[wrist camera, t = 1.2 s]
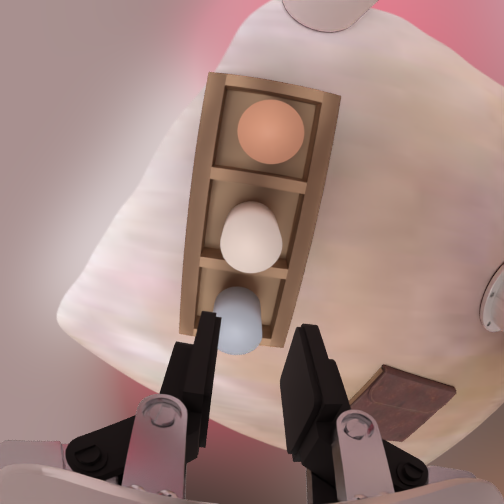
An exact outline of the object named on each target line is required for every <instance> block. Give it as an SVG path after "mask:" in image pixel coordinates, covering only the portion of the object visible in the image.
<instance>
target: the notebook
mask: <svg viewBox="0 0 504 504" xmlns="http://www.w3.org/2000/svg"><path fill="white" fill-rule="evenodd" d="M382 367H383V368H380V369H379V370H378V371H377V372H376V373H375V375H374V376H373V377H372V378H371V379H370V380H369V381H368V382H367V383H366V384H365V385H364V386H363V387H362V388H361V389H360V391H359V392H358V393H357V394H356V395H355V396H354V397H353V398H352V399H351V400H350V401H349V404H350V407H351V410H360V411H363V412H366V413H367V414H369V415H370V416H372V417H373V418H374V420H375V421H376V423H377V425H378V428H379V431H380V435H381V438H382V439H384V440H388V441H399V442H403V441H404V440H405V439H406V438H408V437H409V436H410V435H411V434H412V433H413V432H415V431H416V430H417V429H418V428H419V427H420V426H421V425H423V424H424V423H425V422H426V421H427V420H428V419H429V418H430V417H431V416H432V415H433V414H435V413H436V412H437V411H438V410H439V409H440V408H442V407H443V406H444V405H445V404H446V403H447V402H448V401H449V400H450V399H451V398H452V397H453V396H454V395H455V394H456V389H455V388H454V387H452V386H448V385H445V384H442V383H438V382H435V381H432V380H428V379H425V378H422V377H419V376H416V375H413V374H410V373H406V372H403V371H400V370H397V369H394V368H391V367H388V366H385V365H382Z"/></svg>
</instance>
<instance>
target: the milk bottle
mask: <svg viewBox="0 0 504 504" xmlns="http://www.w3.org/2000/svg"><path fill="white" fill-rule="evenodd" d="M282 1H283V4H284V6H285V8H286V10H287V11H288V13H289V14H290V15H291V16H292V17H293V18H294V19H295V20H297V21H298V22H299V23H301V24H303V25H304V26H306V27H309V28H311V29H314V30H318V31H324V32H336V31H341V30H344V29H346V28H348V27H350V26H351V25H352V24H354V23H355V22H356V21H357V20H358V19H359V18H360V17H361V16H362V15H363V14H364V13H365V12H367V11H368V10H369V9H370V8H371V7H372V6H373V5H374V4H375V3H376V2H377V1H378V0H282Z"/></svg>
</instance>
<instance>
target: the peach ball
mask: <svg viewBox="0 0 504 504" xmlns="http://www.w3.org/2000/svg"><path fill="white" fill-rule="evenodd" d="M237 132H238V139H239V143H240V145H241V147H242V148H243V150H244V151H245V152H246V154H247V155H249V156H250V157H251V158H252V159H254V160H256V161H258V162H261V163H265V164H278V163H282V162H284V161H287V160H288V159H290V158H292V157H293V156H294V155H295V154H296V153H297V152H298V150H299V149H300V147H301V145H302V143H303V140H304V125H303V122H302V119H301V117H300V116H299V114H298V113H297V111H296V110H295V109H294V108H293V107H291V106H290V105H288V104H286V103H284V102H282V101H278V100H263V101H259V102H257V103H255V104H253V105H251V106H250V107H249V108H247V109H246V111H245V112H244V113H243V114H242V116H241V118H240V120H239V123H238V130H237Z"/></svg>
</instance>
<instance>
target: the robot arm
mask: <svg viewBox="0 0 504 504" xmlns="http://www.w3.org/2000/svg"><path fill="white" fill-rule="evenodd" d="M216 314H217V313H215V312H209V311H202V312H201V316H200V320H199V324H198V328H197V332H196V336H195V341H194V344H188V343H182V342H176V343H175V345H174V348H173V351H172V355H171V358H170V361H169V364H168V367H167V371H166V374H165V377H164V381H163V384H162V387H161V391H160V394H155V395H151V396H148V397H146V398H144V399H143V400H142V401H141V402H140V404H139V406H138V408H137V412H136V415H135V416H132V417H130V418H127V419H125V420H122V421H120V422H117V423H115V424H112V425H110V426H107V427H104V428H102V429H99V430H97V431H94V432H91V433H88V434H85V435H83V436H80V437H77V438H75V439H74V440H72V441H71V442H70V443H69V444H61V442H60V441H20V440H7V441H4V442H2V443H0V504H216V503H207V502H199V501H191V500H185V488H186V465H187V463H188V462H190V461H192V460H194V459H196V458H197V455H198V452H199V447H204V448H205V446H206V438H207V429H208V421H209V412H210V404H211V396H212V388H213V380H214V372H215V365H216V357H217V349H218V342H219V334H220V327H221V320H222V317H216ZM480 320H481V323H482V325H483V326H484V327H485V328H486V329H487V330H488V331H490V332H497V331H501V330H502V331H503V332H504V264H503V265H502V266H501V267H500V269H499V270H498V271H497V272H496V274H495V275H494V276H493V278H492V280H491V281H490V283H489V285H488V287H487V289H486V291H485V294H484V297H483V300H482V304H481V309H480ZM280 389H281V398H282V408H283V417H284V426H285V435H286V445H287V452H288V454H292V457H293V461H294V462H301V463H302V465H303V466H305V467H306V484H307V504H504V498H503V496H502V495H501V493H500V492H499V490H498V489H497V488H496V487H495V486H494V485H493V484H492V483H491V482H489V481H486V480H482V479H477V478H476V477H475V475H474V474H472V473H471V472H468V471H462V470H456V469H450V468H444V467H438V466H433V465H430V466H429V467H426V465H425V464H424V463H423V462H422V461H421V460H419V459H418V458H416V457H414V456H412V455H410V454H409V453H407V452H405V451H403V450H401V449H400V448H398V447H396V446H394V445H393V444H391V443H389V442H387V441H386V440H384V439H382V438H381V435H380V431H379V428H378V425H377V423H376V421H375V420H374V418H373V417H372V416H370V415H369V414H367V413H366V412H363V411H360V410H351V407H350V404H349V401H348V398H347V395H346V392H345V389H344V385H343V382H342V379H341V376H340V373H339V370H338V368H337V365H336V362H335V361H334V360H333V359H329V358H328V355H327V352H326V349H325V346H324V343H323V340H322V337H321V334H320V331H319V328H318V325H311V324H302V325H301V327H297V328H296V330H295V333H294V336H293V340H292V343H291V346H290V350H289V353H288V356H287V359H286V362H285V365H284V369H283V372H282V375H281V379H280Z"/></svg>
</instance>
